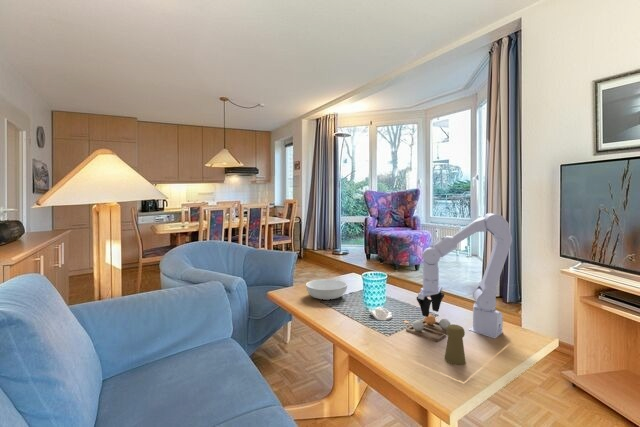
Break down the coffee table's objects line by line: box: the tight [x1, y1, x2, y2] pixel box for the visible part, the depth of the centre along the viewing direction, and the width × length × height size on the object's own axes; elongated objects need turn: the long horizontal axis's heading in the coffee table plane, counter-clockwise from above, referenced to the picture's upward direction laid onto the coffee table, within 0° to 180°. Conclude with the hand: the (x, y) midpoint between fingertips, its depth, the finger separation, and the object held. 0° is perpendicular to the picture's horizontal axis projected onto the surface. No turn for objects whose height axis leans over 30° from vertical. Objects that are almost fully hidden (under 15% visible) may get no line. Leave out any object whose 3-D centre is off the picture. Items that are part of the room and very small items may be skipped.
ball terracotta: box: [424, 314, 437, 325], centre depth 125 cm, size 4×4×4 cm
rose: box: [369, 306, 393, 321], centre depth 135 cm, size 10×4×10 cm
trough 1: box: [405, 325, 447, 343], centre depth 117 cm, size 12×6×1 cm, turn 42°
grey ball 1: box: [412, 319, 424, 332], centre depth 120 cm, size 4×4×4 cm
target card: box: [402, 320, 413, 326], centre depth 127 cm, size 8×5×1 cm, turn 42°
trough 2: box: [420, 319, 447, 335], centre depth 123 cm, size 12×6×1 cm, turn 42°
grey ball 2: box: [438, 318, 452, 330], centre depth 121 cm, size 4×4×4 cm
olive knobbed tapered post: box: [444, 324, 466, 366], centre depth 98 cm, size 6×6×11 cm
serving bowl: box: [305, 278, 348, 301], centre depth 162 cm, size 21×21×7 cm
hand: (430, 313), depth 125 cm, fingers open, 7 cm apart
